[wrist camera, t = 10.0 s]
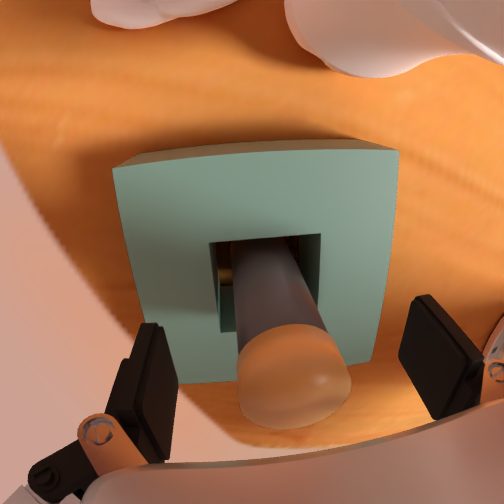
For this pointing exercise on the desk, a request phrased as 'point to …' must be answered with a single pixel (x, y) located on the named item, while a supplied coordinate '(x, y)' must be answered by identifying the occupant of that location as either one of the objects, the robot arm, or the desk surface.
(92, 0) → the rose
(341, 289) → the socket block
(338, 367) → the round peg
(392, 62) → the water bottle
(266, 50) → the desk surface
